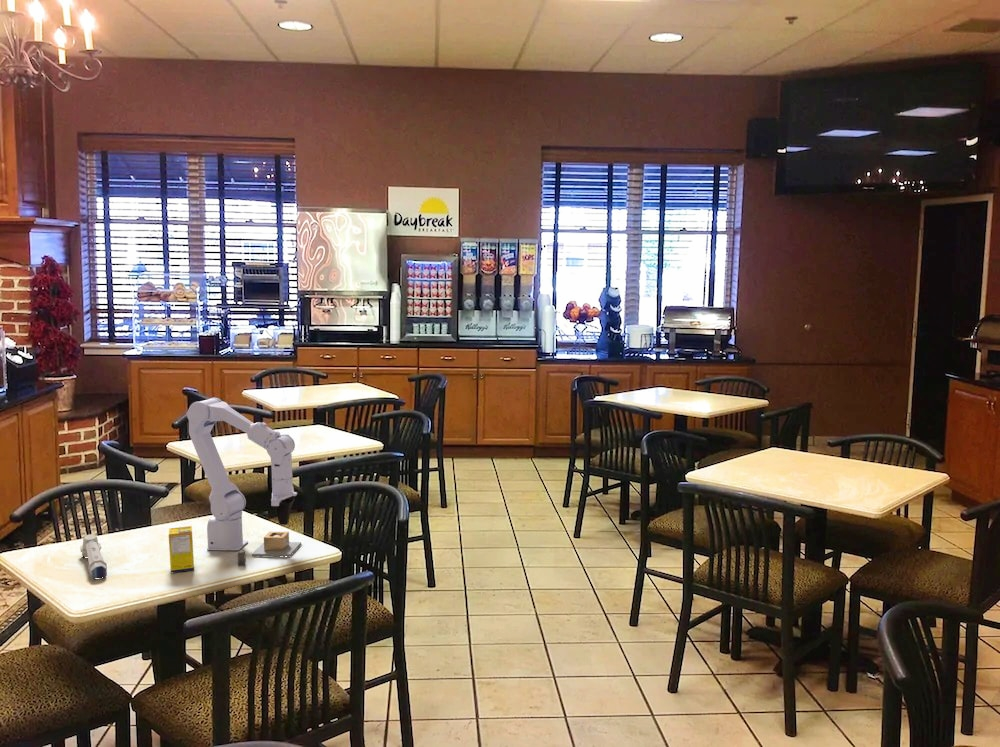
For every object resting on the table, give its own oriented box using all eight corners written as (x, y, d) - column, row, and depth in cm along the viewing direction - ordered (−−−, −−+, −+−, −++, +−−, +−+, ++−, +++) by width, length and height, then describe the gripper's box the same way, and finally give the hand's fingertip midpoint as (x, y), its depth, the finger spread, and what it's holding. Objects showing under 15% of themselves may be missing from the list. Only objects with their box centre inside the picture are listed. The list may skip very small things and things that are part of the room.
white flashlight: (87, 567, 218) (78, 530, 239) (88, 591, 219) (79, 552, 240) (109, 564, 220) (98, 527, 241) (110, 587, 222) (100, 549, 243)
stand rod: (236, 565, 230) (236, 553, 229) (239, 563, 232) (238, 550, 231) (243, 565, 230) (243, 553, 229) (246, 563, 232) (246, 550, 231)
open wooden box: (264, 551, 239) (263, 537, 239) (270, 544, 245) (269, 531, 245) (283, 551, 239) (283, 537, 239) (289, 545, 245) (288, 531, 244)
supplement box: (193, 563, 231) (191, 525, 230) (194, 570, 226) (192, 531, 225) (170, 566, 229) (168, 527, 228) (170, 573, 224) (168, 534, 223)
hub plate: (251, 556, 237) (251, 541, 237) (264, 544, 248) (264, 530, 248) (289, 557, 237) (289, 542, 236) (301, 544, 247) (300, 530, 247)
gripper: (288, 484, 232) (289, 531, 234) (303, 472, 247) (304, 517, 248) (263, 483, 233) (264, 531, 234) (279, 471, 247) (281, 516, 249)
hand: (283, 524), depth 241 cm, fingers closed
